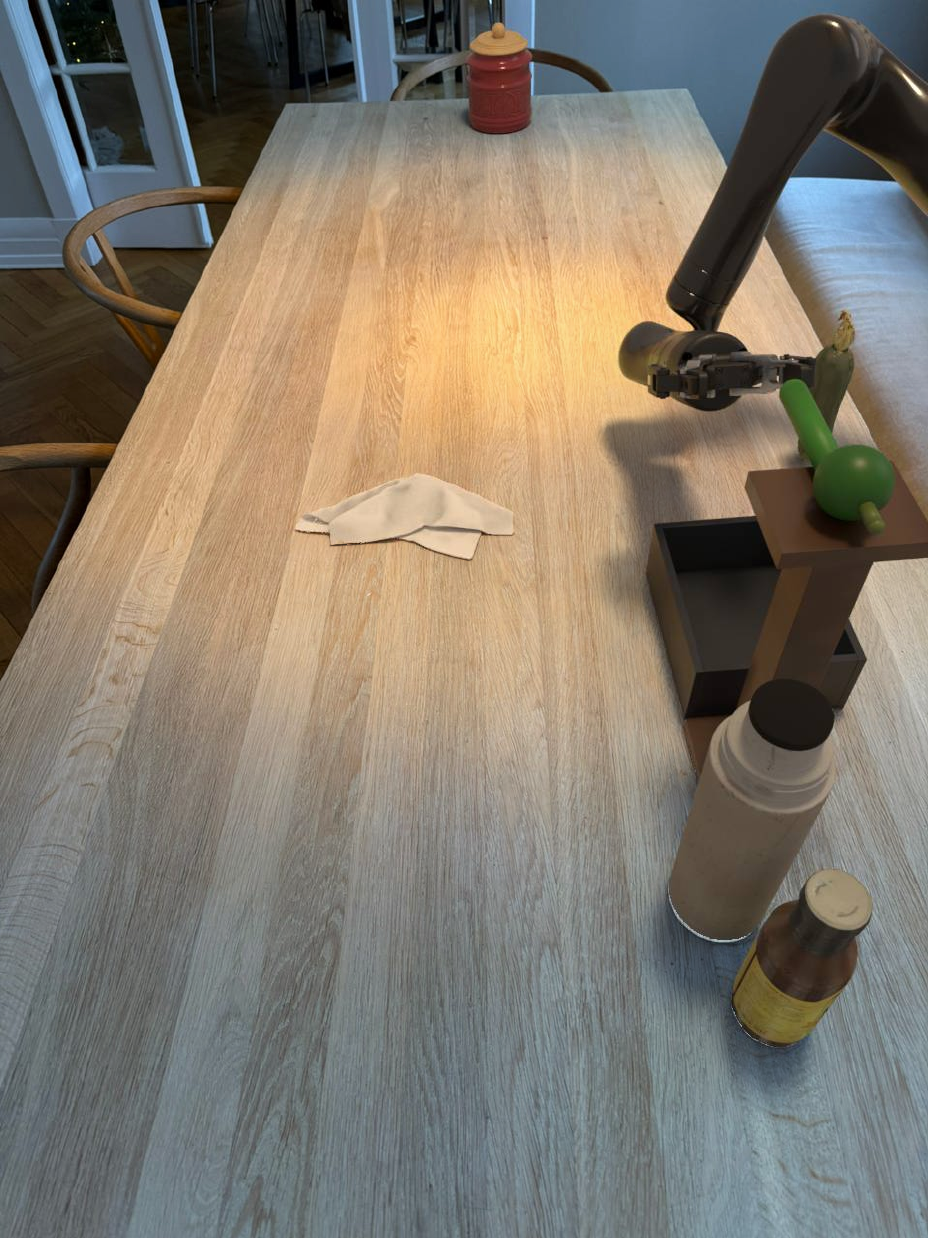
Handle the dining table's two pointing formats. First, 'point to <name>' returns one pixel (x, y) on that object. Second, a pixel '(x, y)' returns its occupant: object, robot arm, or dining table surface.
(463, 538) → the cloth
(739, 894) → the thermos bottle
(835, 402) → the vegetable
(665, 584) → the open box
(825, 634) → the shelf stand
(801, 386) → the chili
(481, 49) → the kitchen canister
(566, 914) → the dining table surface
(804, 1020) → the sauce bottle
